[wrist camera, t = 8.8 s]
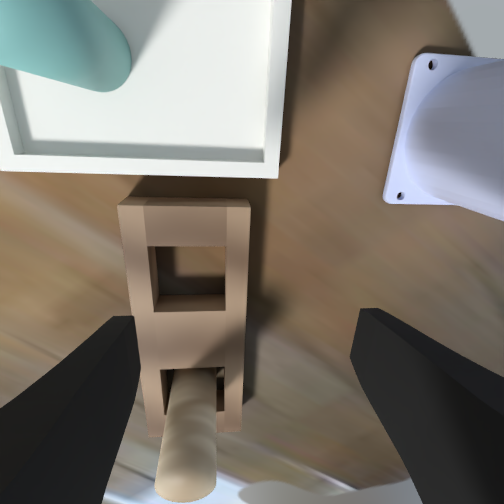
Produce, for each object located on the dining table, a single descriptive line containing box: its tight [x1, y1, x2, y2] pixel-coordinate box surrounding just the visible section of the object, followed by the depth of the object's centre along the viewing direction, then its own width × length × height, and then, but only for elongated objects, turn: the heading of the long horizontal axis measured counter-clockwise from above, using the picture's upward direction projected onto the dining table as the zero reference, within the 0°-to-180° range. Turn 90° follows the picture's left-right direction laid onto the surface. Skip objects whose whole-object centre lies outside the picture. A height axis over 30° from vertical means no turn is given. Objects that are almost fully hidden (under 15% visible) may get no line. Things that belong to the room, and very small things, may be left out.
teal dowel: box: [0, 0, 132, 92], centre depth 10 cm, size 3×3×8 cm
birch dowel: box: [155, 367, 216, 502], centre depth 19 cm, size 3×3×8 cm
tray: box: [0, 0, 292, 178], centre depth 14 cm, size 14×11×1 cm
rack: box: [117, 197, 251, 437], centre depth 20 cm, size 18×7×2 cm, turn 177°
